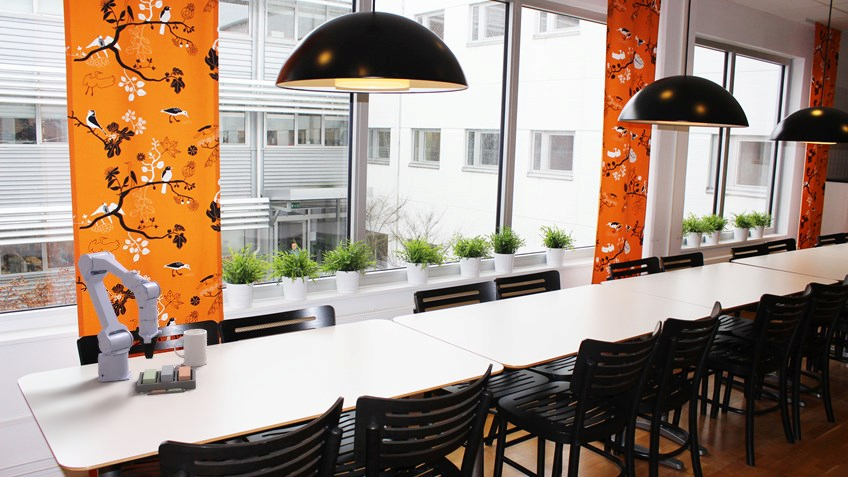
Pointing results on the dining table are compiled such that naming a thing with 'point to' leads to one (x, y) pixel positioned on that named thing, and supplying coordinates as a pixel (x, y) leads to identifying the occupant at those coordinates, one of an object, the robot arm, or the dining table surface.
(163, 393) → the strip
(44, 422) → the dining table surface
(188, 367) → the key terracotta
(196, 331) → the mug
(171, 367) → the key slate
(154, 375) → the key sage
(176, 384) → the keypad frame
